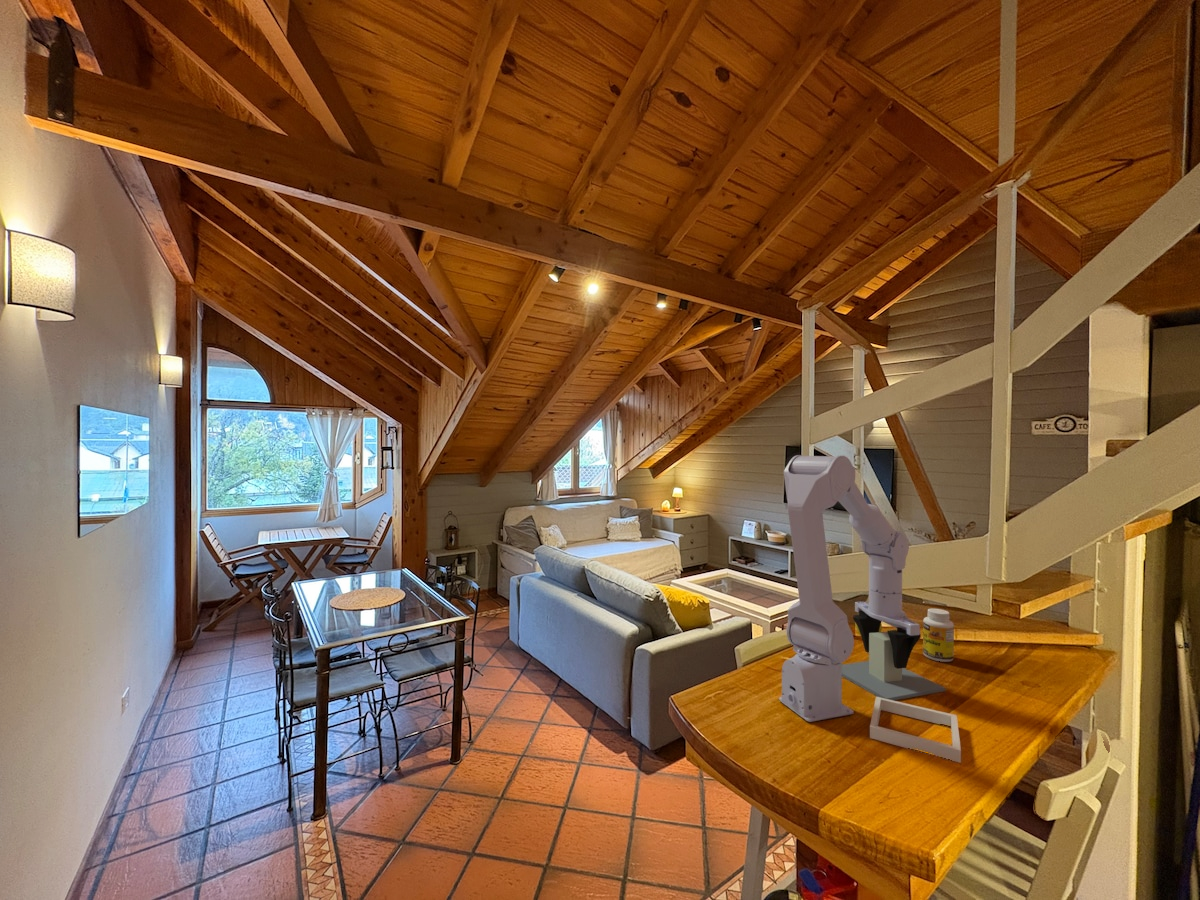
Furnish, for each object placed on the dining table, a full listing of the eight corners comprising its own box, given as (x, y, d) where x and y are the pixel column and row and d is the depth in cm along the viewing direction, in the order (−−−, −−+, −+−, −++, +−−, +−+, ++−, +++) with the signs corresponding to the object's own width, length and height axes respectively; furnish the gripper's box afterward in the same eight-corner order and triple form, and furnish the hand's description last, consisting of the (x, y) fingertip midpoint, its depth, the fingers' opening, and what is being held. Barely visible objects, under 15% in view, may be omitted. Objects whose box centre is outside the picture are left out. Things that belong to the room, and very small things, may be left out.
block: (902, 680, 98) (902, 638, 98) (884, 682, 97) (884, 640, 97) (886, 671, 102) (886, 631, 102) (869, 673, 101) (869, 633, 101)
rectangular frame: (960, 763, 73) (960, 750, 73) (869, 738, 79) (869, 726, 79) (956, 726, 83) (956, 715, 83) (876, 706, 89) (876, 696, 89)
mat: (886, 701, 91) (886, 698, 91) (829, 669, 104) (829, 666, 104) (945, 691, 95) (945, 687, 95) (883, 661, 108) (883, 658, 108)
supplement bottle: (916, 654, 112) (917, 608, 112) (935, 651, 114) (936, 606, 114) (940, 664, 107) (940, 616, 107) (960, 661, 108) (960, 613, 108)
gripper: (933, 599, 93) (933, 673, 93) (875, 579, 107) (875, 643, 107) (901, 601, 92) (901, 676, 92) (846, 581, 106) (846, 646, 106)
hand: (885, 659), depth 99 cm, fingers open, 7 cm apart
